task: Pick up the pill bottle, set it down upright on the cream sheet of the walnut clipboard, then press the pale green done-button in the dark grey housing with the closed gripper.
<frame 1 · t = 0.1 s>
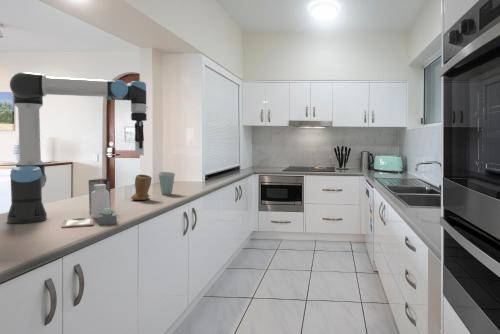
hand: (139, 154, 204), 28 cm above the countertop, tool pointing down, fingers open, 13 cm apart
stone cup: (142, 199, 241), on the countertop
done button: (107, 212, 171), point 4 cm above the countertop, slide at 0.0 cm
disposable coffee cup: (166, 194, 265), on the countertop
clipboard: (78, 223, 169), on the countertop
coffee box: (100, 212, 199), on the countertop
pill bottle: (100, 217, 184), on the countertop
button housing: (107, 222, 172), on the countertop
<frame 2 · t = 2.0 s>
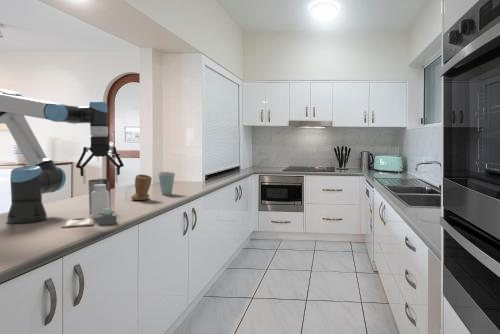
hand: (100, 183, 183), 16 cm above the countertop, tool pointing down, fingers open, 13 cm apart
nothing on the countertop moved.
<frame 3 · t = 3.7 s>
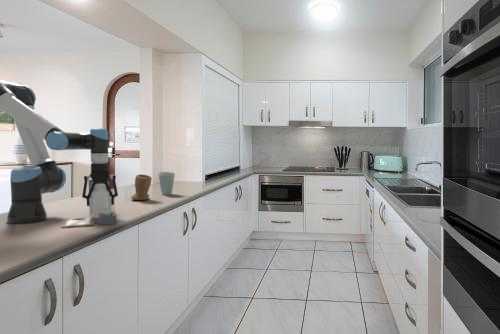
hand: (100, 212, 184), 2 cm above the countertop, tool pointing down, fingers closed on pill bottle, 8 cm apart
pill bottle: (100, 217, 184), on the countertop, touching gripper
everything else where it was.
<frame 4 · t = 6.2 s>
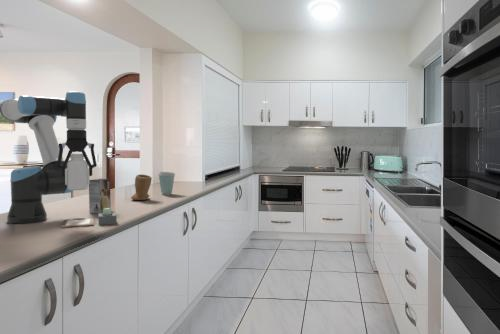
hand: (77, 184, 168), 17 cm above the countertop, tool pointing down, fingers closed on pill bottle, 8 cm apart
pill bottle: (77, 189, 168), point 14 cm above the countertop, touching gripper
everything else where it was.
when the fingers open (4 cm above the countertop, at t = 8.8 s): pill bottle drops 1 cm, resting on clipboard.
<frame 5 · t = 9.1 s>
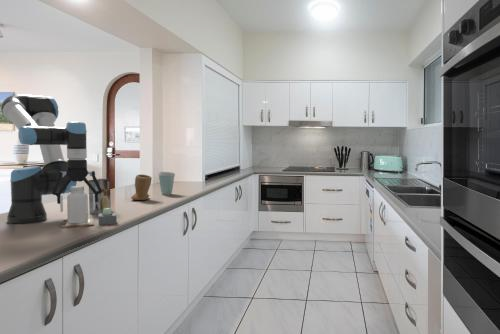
hand: (78, 210, 169), 6 cm above the countertop, tool pointing down, fingers open, 12 cm apart
pill bottle: (78, 222, 169), point 1 cm above the countertop, touching clipboard
everything else where it was.
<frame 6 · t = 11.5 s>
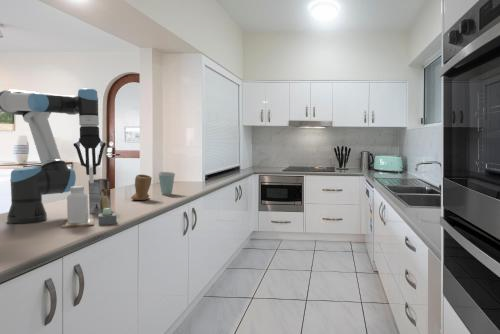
hand: (91, 182, 168), 17 cm above the countertop, tool pointing down, fingers closed
nothing on the countertop moved.
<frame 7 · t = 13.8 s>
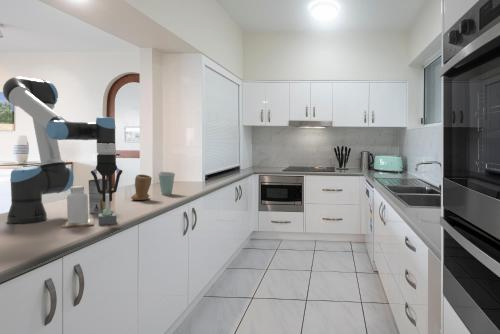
hand: (107, 209, 171), 6 cm above the countertop, tool pointing down, fingers closed
done button: (107, 213, 171), point 4 cm above the countertop, slide at 0.4 cm, touching gripper
everything else where it was.
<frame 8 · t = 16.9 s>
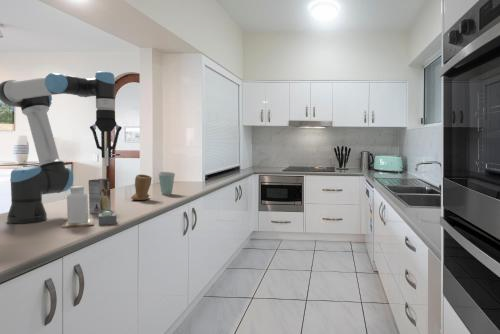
hand: (106, 165, 170), 24 cm above the countertop, tool pointing down, fingers closed
done button: (107, 215, 171), point 3 cm above the countertop, slide at 1.3 cm
everything else where it was.
at the end: pill bottle inside the target area on the clipboard (0.2 cm from its centre), point 0.5 cm above the clipboard's base; pill bottle tilted 0°; done button slide at 1.3 cm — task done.
